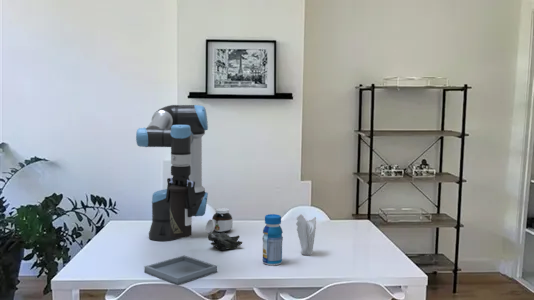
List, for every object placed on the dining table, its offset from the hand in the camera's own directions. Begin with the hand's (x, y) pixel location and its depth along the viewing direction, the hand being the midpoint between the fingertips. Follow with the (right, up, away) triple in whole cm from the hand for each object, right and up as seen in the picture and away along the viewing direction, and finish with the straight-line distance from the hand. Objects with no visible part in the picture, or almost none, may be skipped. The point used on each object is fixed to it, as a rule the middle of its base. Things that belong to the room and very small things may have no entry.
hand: (180, 223), depth 203 cm
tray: (0, -20, +2) cm, 20 cm away
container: (0, -5, 0) cm, 5 cm away
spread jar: (+9, -14, +64) cm, 66 cm away
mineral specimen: (+14, -17, +35) cm, 41 cm away
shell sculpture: (+51, -18, +29) cm, 61 cm away
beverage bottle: (+36, -19, +16) cm, 43 cm away
